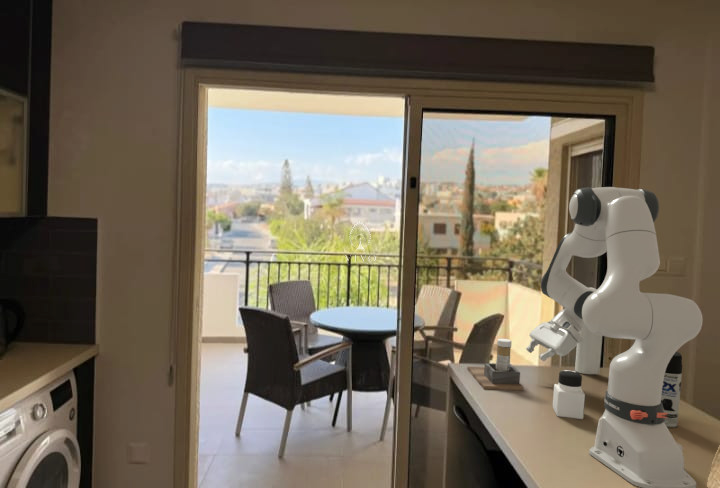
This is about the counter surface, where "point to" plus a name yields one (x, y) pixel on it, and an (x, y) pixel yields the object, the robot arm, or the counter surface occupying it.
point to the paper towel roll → (588, 352)
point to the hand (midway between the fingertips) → (534, 355)
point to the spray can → (672, 390)
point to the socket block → (496, 377)
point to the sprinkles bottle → (503, 354)
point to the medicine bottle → (569, 395)
